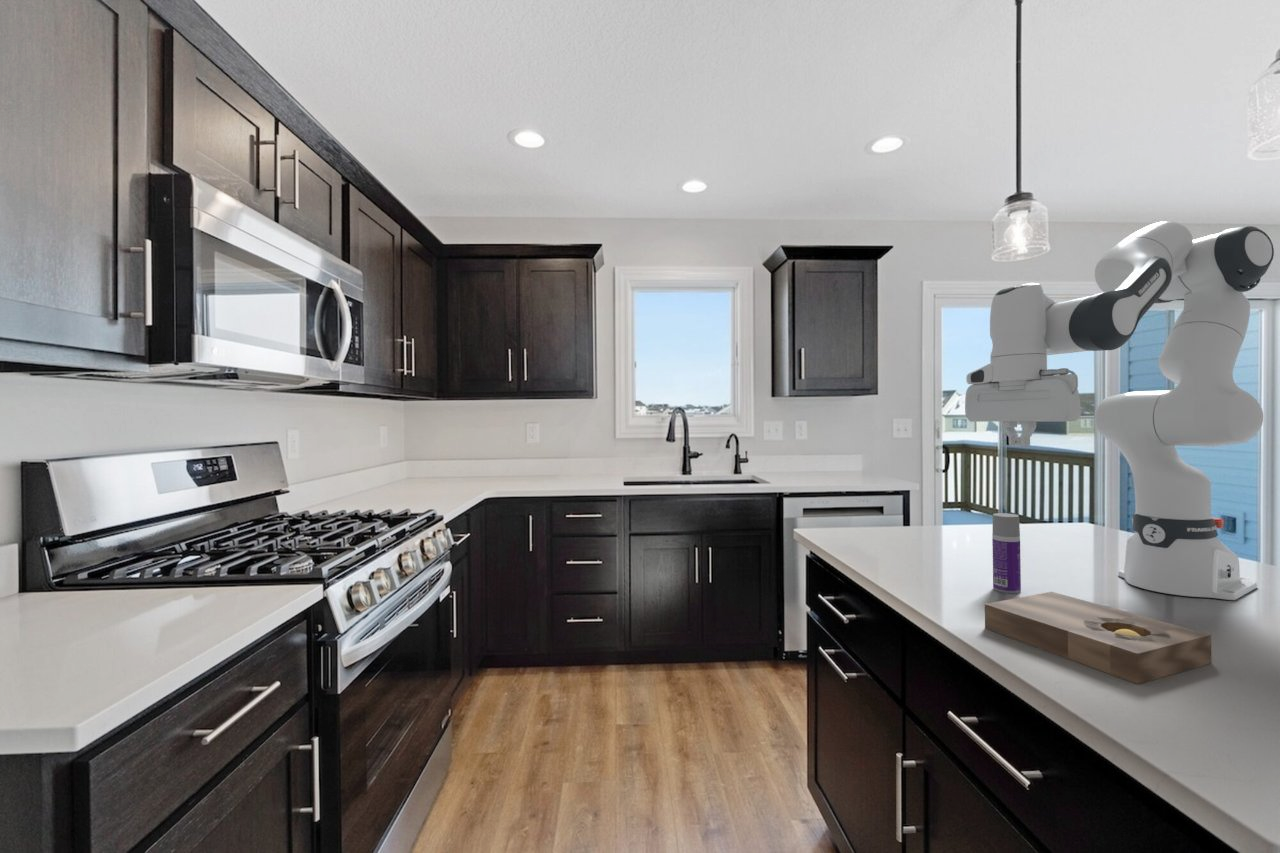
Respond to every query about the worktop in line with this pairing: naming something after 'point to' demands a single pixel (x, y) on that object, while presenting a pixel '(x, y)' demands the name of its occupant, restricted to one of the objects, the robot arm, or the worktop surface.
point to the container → (1006, 553)
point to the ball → (1127, 632)
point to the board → (1100, 636)
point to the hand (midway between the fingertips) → (1019, 446)
